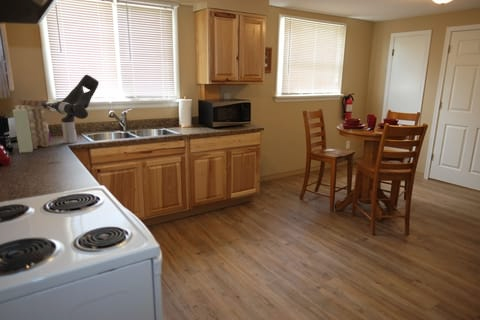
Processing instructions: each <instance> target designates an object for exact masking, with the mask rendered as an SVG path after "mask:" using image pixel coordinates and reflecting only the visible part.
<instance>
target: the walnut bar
mask: <svg viewBox="0 0 480 320" xmlns="http://www.w3.org/2000/svg"><path fill="white" fill-rule="evenodd" d="M42 103H46V104H48V103H47V100H46V99H45V100H44V99H41V100H40V99H19V105H27V106H42Z"/></svg>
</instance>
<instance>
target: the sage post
mask: <svg viewBox="0 0 480 320" xmlns="http://www.w3.org/2000/svg"><path fill="white" fill-rule="evenodd" d="M12 113H13V114H12V115H13V121H14V127H15V133H16V141H17V145H18V151H19V154H22V152H23V153H32V152H33V151H34V149H33V147H32V140H31V133H30V127H29V120H28V114H27V109H19V110H15V109H12Z"/></svg>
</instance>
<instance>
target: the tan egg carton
mask: <svg viewBox="0 0 480 320" xmlns="http://www.w3.org/2000/svg"><path fill="white" fill-rule="evenodd" d="M19 109H27V114H28V120H29V127H30V133H31V140H32V147H33V150H36V149H38V146H39V147H50V141H48V134H47V127H46V122H47V121H46V113H45V108H43V106H27V105H20V104H19V105H17V104H16V105H14V110H19Z"/></svg>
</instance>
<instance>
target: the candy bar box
mask: <svg viewBox="0 0 480 320" xmlns="http://www.w3.org/2000/svg"><path fill="white" fill-rule="evenodd" d="M46 127H47V134H48V142H51V138H50V137H51V136H50V129H49V128H50V127H49V121H48V122H47V121H46Z"/></svg>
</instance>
